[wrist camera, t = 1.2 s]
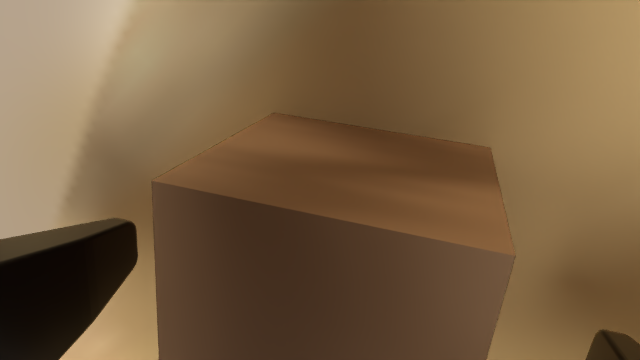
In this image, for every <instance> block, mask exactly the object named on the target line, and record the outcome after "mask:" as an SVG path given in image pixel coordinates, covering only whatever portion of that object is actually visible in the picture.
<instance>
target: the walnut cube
mask: <svg viewBox="0 0 640 360" xmlns="http://www.w3.org/2000/svg"><path fill="white" fill-rule="evenodd" d="M152 202H153V226H154V250H155V275H156V299H157V323H158V347H159V360H486V359H487V355H488V352H489V348H490V345H491V341H492V337H493V334H494V330H495V327H496V323H497V320H498V316H499V313H500V309H501V306H502V302H503V299H504V295H505V291H506V288H507V284H508V281H509V277H510V274H511V270H512V267H513V263H514V260H515V251H514V247H513V243H512V239H511V234H510V230H509V226H508V221H507V217H506V213H505V208H504V204H503V200H502V196H501V191H500V187H499V183H498V178H497V174H496V170H495V165H494V161H493V157H492V153H491V148H490V147H483V146H477V145H471V144H465V143H458V142H452V141H446V140H440V139H433V138H427V137H421V136H415V135H408V134H402V133H396V132H390V131H384V130H377V129H371V128H365V127H359V126H352V125H346V124H340V123H334V122H327V121H321V120H315V119H309V118H302V117H296V116H290V115H284V114H277V113H273V114H271V115H269V116H267V117H265V118H264V119H262V120H260V121H258V122H256V123H255V124H253V125H251V126H249V127H247V128H246V129H244V130H242V131H240V132H238V133H237V134H235V135H233V136H231V137H229V138H228V139H226V140H224V141H222V142H220V143H219V144H217V145H215V146H213V147H211V148H210V149H208V150H206V151H204V152H202V153H201V154H199V155H197V156H195V157H193V158H192V159H190V160H188V161H186V162H184V163H183V164H181V165H179V166H177V167H175V168H173V169H172V170H170V171H168V172H166V173H164V174H163V175H161V176H159V177H157V178H155V179H154V180H152Z"/></svg>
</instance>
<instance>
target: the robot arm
mask: <svg viewBox="0 0 640 360" xmlns="http://www.w3.org/2000/svg"><path fill="white" fill-rule="evenodd" d="M137 258H138V250H137V233H136V226H135V224H134V223H133V222H131V221H128V220H124V219H119V218H111V219H106V220H101V221H95V222H90V223H85V224H80V225H74V226H69V227H64V228H58V229H53V230H48V231H42V232H37V233H32V234H27V235H21V236H16V237H11V238H6V239H0V360H59V359H60V358H61V357H62V356H63V355H64V354H65V353H66V351H67V350H68V349H69V348H70V347H71V346H72V345H73V344H74V343H75V342H76V341H77V339H78V338H79V337H80V336H81V335H82V334H83V333H84V332H85V331H86V329H87V328H88V327H89V326H90V325H91V324H92V323H93V321H94V320H95V319H96V317H97V316H98V315H99V314H100V312H101V311H102V310H103V308H104V307H105V306H106V304H107V303H108V302H109V300H110V299H111V298H112V296H113V295H114V294H115V292H116V291H117V290H118V288H119V287H120V286H121V284H122V283H123V282H124V281H125V279H126V278H127V277H128V275H129V274H130V273H131V271H132V270H133V268H134V267H135V265H136V262H137ZM586 360H640V344H638V343H637V342H636V341H634V340H633V339H632V338H631V337H629V336H628V335H625V334H622V333H618V332H613V331H609V330H604V329H602V330H599V331H598V332H597V333H596V335H595V337H594V339H593V342H592V344H591V347H590V350H589V352H588V355H587V358H586Z"/></svg>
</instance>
